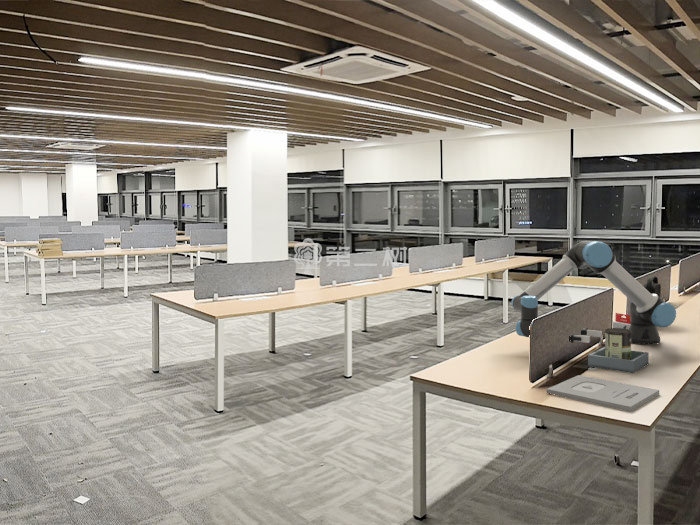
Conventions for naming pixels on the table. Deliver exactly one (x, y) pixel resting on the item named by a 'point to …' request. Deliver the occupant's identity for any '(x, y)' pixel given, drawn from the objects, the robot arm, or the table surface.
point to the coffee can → (618, 343)
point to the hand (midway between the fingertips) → (595, 337)
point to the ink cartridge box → (622, 321)
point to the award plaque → (604, 392)
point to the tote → (618, 361)
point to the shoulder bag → (653, 285)
